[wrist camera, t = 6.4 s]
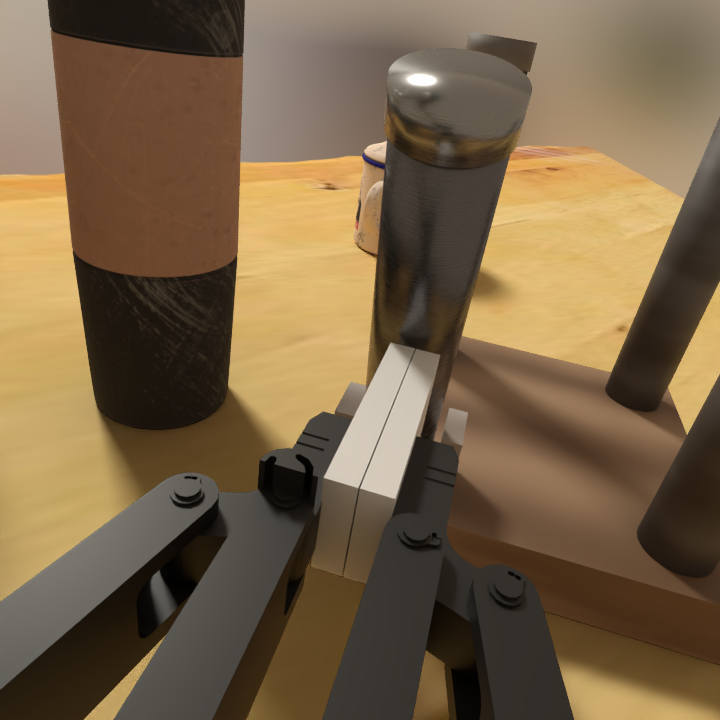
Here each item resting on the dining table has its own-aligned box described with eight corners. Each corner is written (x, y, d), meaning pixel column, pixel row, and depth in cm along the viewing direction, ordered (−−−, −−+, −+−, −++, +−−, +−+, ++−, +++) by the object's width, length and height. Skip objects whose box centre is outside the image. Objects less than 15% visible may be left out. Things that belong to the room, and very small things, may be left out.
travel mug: (243, 365, 37) (261, -8, 27) (215, 441, 30) (226, -17, 20) (119, 349, 36) (90, -36, 26) (63, 423, 30) (-4, -55, 20)
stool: (390, 359, 40) (454, 29, 30) (648, 425, 37) (812, 88, 27) (309, 538, 25) (383, 14, 15) (723, 665, 23) (1128, 136, 13)
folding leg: (371, 397, 26) (406, 39, 14) (442, 416, 25) (538, 61, 14) (349, 458, 24) (370, 99, 12) (426, 479, 23) (523, 128, 12)
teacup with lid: (375, 225, 66) (393, 115, 60) (450, 248, 62) (476, 134, 57) (318, 250, 56) (333, 122, 50) (403, 279, 53) (429, 145, 47)
